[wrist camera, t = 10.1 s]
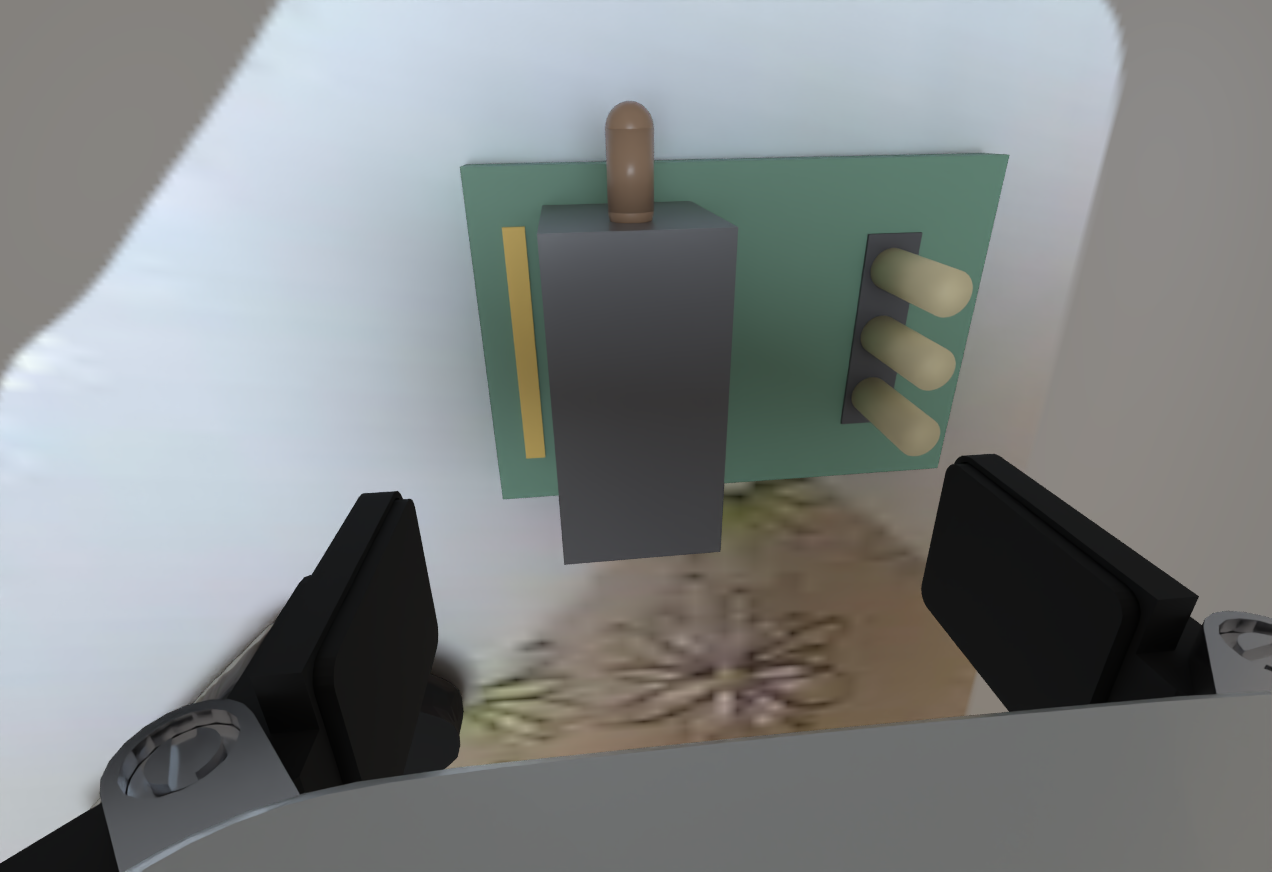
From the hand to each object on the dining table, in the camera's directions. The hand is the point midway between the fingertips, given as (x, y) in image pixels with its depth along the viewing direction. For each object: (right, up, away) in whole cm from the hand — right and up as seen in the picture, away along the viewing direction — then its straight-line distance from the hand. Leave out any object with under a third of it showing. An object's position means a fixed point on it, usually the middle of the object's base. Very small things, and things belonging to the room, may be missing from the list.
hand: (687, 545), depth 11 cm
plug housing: (-1, +6, +7) cm, 9 cm away
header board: (+2, +5, +9) cm, 11 cm away
